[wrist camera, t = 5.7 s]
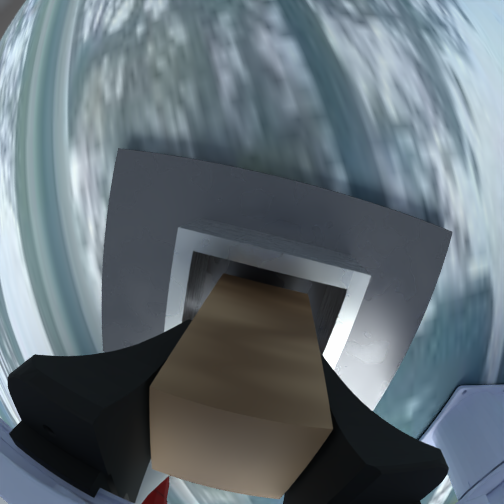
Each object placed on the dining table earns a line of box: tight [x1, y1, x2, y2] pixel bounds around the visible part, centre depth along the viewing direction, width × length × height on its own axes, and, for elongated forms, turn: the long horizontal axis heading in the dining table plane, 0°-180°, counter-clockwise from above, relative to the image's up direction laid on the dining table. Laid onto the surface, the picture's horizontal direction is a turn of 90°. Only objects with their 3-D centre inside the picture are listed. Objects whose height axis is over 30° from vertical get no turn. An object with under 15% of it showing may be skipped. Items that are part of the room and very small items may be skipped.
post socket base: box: [102, 148, 452, 411], centre depth 14 cm, size 20×14×4 cm
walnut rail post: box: [149, 273, 333, 499], centre depth 9 cm, size 4×4×8 cm
